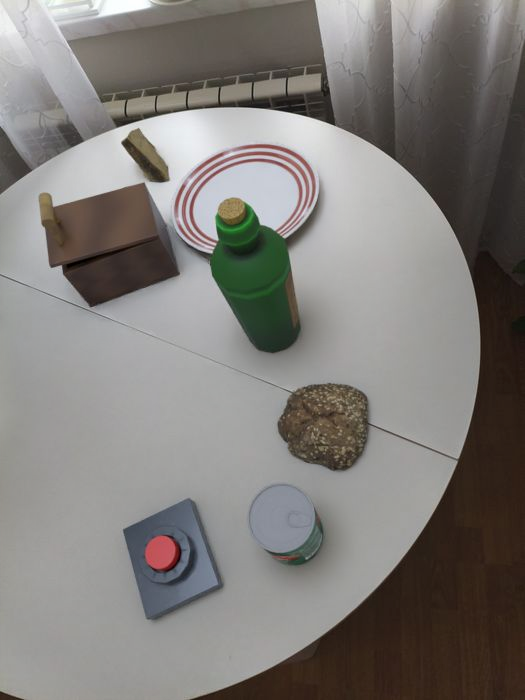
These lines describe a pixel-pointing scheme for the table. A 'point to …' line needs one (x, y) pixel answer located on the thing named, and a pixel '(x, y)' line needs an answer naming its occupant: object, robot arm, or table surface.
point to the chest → (124, 267)
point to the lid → (97, 224)
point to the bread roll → (325, 424)
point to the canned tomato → (286, 524)
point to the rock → (145, 156)
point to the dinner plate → (246, 190)
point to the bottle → (255, 276)
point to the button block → (191, 568)
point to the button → (162, 553)
